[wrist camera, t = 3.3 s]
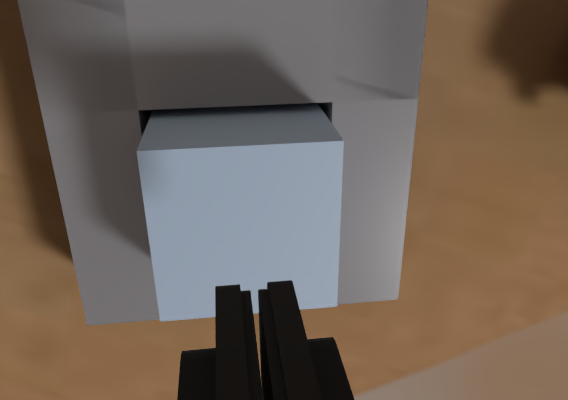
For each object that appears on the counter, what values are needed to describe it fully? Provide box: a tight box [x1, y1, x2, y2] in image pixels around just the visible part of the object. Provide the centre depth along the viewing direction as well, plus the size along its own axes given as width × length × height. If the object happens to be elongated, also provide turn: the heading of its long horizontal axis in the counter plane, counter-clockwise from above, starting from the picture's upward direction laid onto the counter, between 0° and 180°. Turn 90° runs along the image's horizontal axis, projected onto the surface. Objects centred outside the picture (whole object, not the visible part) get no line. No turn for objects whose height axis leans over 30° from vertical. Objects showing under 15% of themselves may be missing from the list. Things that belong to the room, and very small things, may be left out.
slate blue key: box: [137, 103, 344, 321], centre depth 17 cm, size 6×6×4 cm
